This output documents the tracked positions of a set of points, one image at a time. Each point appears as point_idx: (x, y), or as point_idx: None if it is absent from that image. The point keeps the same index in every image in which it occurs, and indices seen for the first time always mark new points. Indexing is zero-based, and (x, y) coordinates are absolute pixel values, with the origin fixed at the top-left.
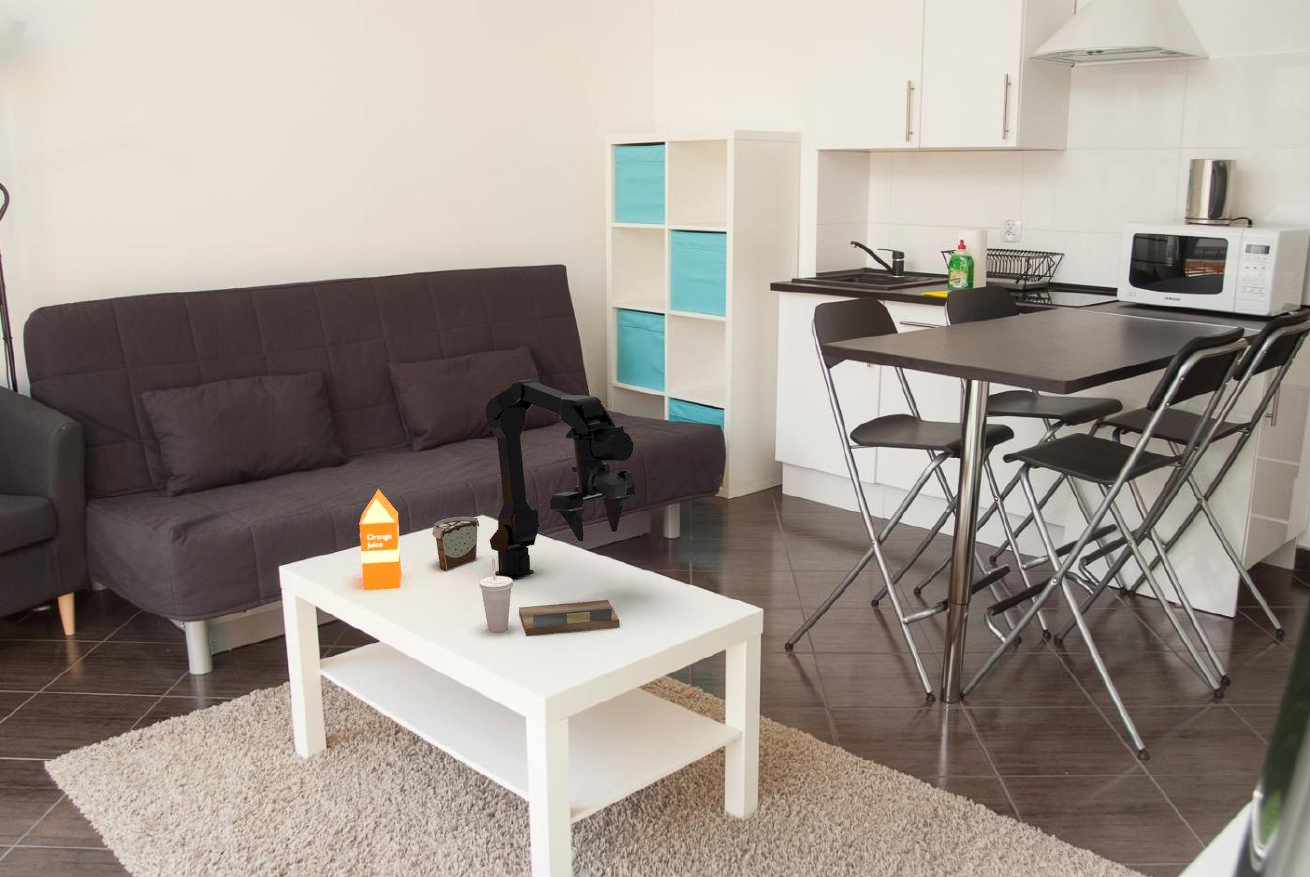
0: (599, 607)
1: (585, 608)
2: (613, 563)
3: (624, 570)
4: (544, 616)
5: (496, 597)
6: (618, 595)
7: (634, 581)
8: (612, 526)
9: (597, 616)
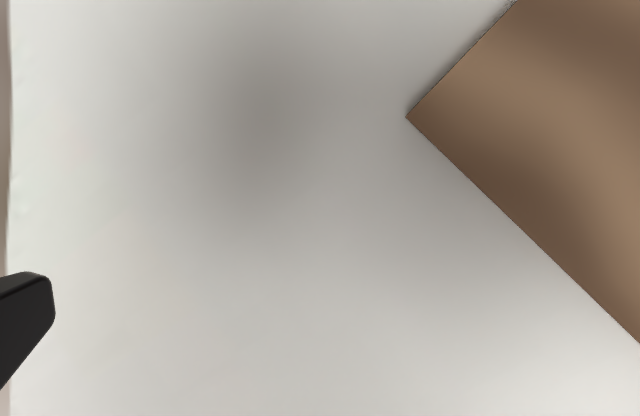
0: (535, 80)
1: (584, 138)
2: None
3: None
4: None
5: None
6: (256, 164)
7: (94, 204)
8: (4, 344)
9: None
